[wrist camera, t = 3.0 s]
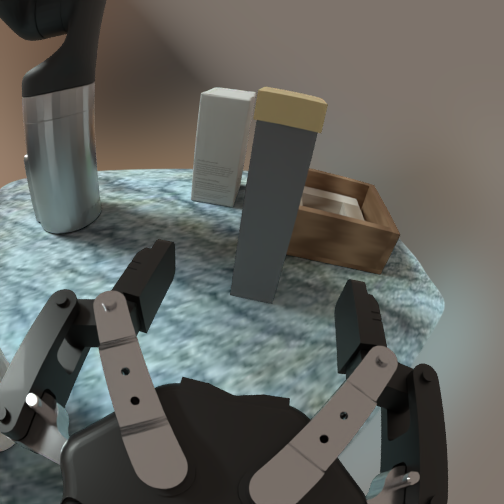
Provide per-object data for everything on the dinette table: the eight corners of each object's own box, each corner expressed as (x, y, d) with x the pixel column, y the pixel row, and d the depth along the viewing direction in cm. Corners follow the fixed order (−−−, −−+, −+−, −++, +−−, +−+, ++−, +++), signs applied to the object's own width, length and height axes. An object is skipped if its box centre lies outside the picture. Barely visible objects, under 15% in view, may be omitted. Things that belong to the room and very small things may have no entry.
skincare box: (204, 179, 46) (213, 86, 37) (243, 185, 46) (258, 92, 37) (189, 201, 39) (197, 91, 30) (235, 209, 40) (252, 97, 30)
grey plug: (227, 295, 27) (258, 90, 16) (236, 266, 30) (265, 86, 19) (273, 305, 26) (327, 104, 16) (277, 274, 30) (321, 98, 19)
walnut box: (252, 247, 33) (261, 201, 29) (265, 195, 44) (272, 160, 41) (380, 274, 33) (400, 234, 29) (361, 218, 44) (373, 185, 40)
